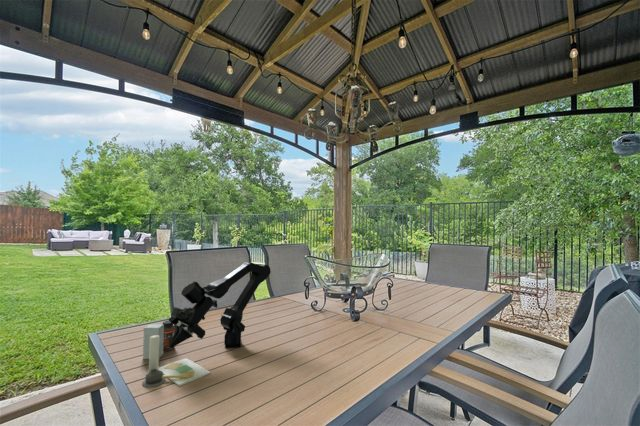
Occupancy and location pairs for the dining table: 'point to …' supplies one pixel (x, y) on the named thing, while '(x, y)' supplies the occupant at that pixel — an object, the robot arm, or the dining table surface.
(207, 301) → the robot arm
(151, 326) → the skincare box
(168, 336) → the supplement bottle
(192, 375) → the tuner board
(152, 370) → the peg dial
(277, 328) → the dining table surface
